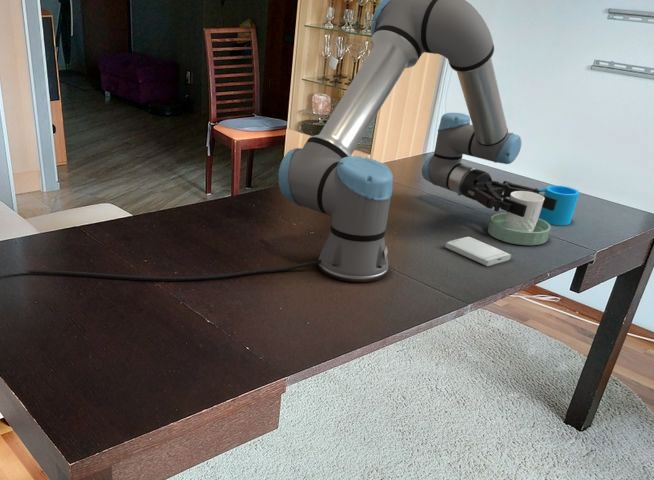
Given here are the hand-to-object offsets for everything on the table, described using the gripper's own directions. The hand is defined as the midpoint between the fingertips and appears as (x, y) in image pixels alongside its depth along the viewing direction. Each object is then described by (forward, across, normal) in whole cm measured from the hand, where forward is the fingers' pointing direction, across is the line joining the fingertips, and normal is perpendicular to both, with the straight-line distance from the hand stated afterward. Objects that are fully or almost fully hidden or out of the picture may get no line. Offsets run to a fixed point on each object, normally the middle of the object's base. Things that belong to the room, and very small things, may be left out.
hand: (539, 208), depth 163 cm
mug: (-10, -18, -9) cm, 23 cm away
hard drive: (0, +19, -9) cm, 21 cm away
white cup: (-4, 0, -8) cm, 9 cm away
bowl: (-4, 0, -8) cm, 10 cm away
